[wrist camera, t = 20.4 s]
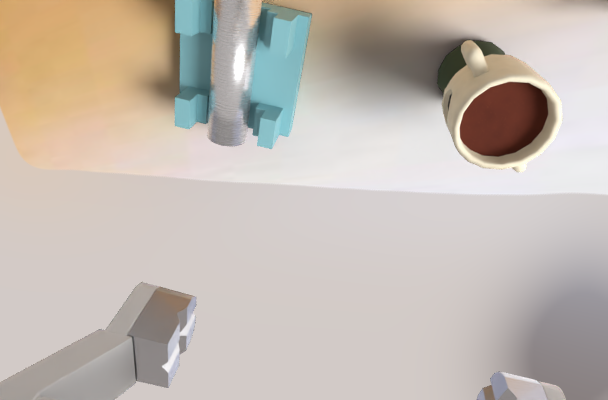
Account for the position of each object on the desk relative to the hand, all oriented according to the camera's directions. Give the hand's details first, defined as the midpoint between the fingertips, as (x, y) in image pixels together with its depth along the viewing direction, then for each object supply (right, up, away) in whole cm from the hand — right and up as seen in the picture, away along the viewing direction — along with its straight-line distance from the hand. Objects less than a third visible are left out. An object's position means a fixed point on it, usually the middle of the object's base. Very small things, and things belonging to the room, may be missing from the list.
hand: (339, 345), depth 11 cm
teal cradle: (-7, +18, +31) cm, 36 cm away
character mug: (+15, +16, +28) cm, 36 cm away
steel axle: (-8, +16, +27) cm, 33 cm away
